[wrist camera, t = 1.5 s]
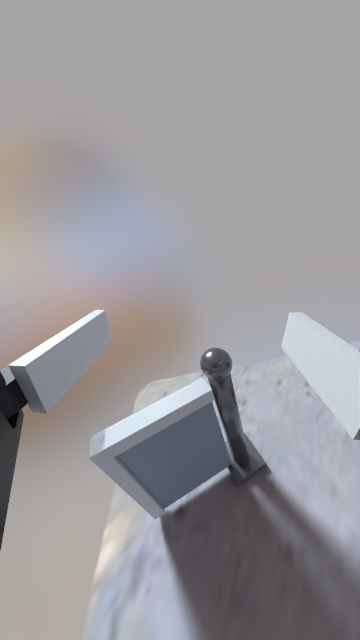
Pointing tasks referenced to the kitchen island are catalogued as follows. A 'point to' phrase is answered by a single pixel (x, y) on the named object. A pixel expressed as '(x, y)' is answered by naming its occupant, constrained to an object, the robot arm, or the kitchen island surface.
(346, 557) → the kitchen island surface
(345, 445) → the kitchen island surface
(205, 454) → the panel
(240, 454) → the metal joystick
